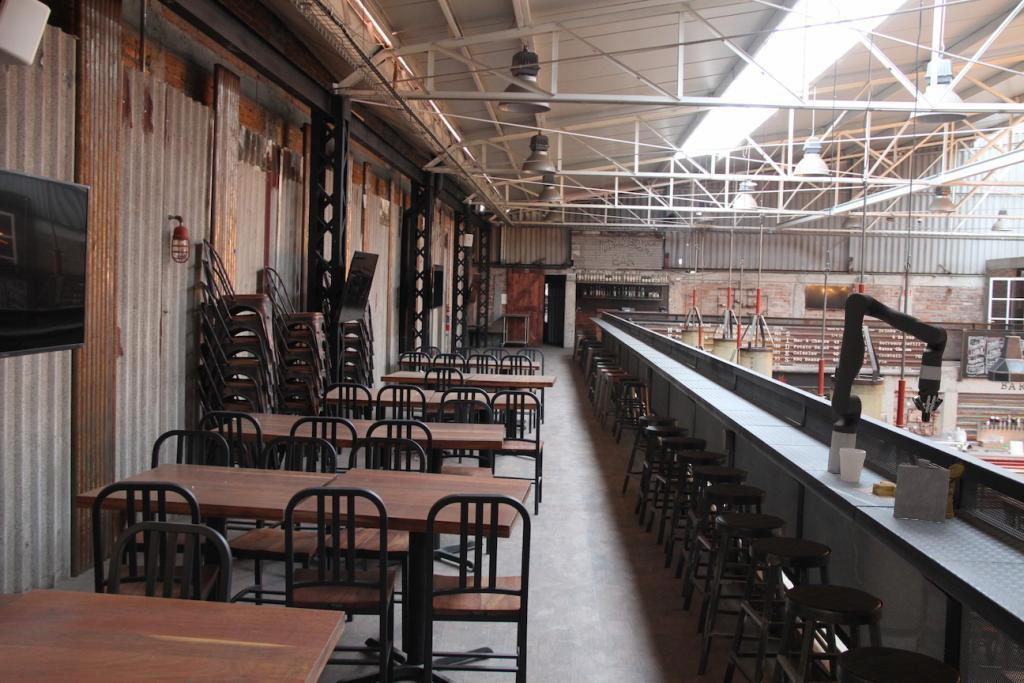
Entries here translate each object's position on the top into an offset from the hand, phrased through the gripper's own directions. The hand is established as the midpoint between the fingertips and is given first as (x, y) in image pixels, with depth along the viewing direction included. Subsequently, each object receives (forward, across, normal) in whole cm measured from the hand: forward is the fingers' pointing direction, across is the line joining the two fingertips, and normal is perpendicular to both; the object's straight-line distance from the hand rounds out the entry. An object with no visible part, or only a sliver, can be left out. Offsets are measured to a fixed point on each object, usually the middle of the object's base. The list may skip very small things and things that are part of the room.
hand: (925, 422), depth 307 cm
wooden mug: (+27, +19, +33) cm, 47 cm away
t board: (+27, +22, +10) cm, 36 cm away
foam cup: (+27, +23, -11) cm, 37 cm away
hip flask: (+27, +34, +38) cm, 58 cm away
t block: (+26, +23, +10) cm, 36 cm away
